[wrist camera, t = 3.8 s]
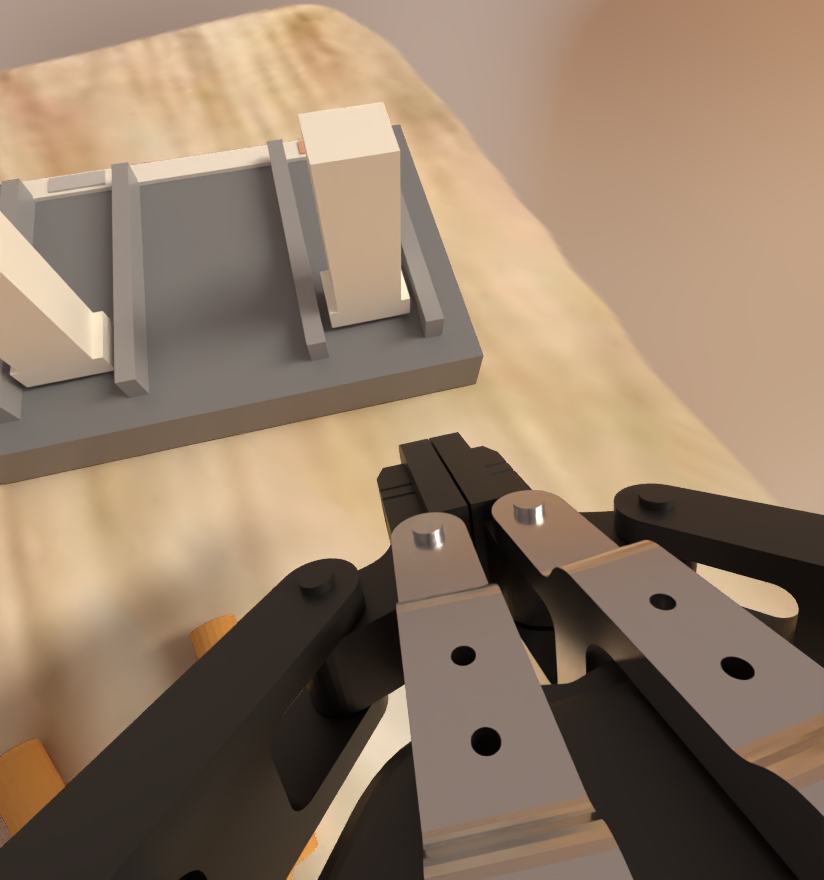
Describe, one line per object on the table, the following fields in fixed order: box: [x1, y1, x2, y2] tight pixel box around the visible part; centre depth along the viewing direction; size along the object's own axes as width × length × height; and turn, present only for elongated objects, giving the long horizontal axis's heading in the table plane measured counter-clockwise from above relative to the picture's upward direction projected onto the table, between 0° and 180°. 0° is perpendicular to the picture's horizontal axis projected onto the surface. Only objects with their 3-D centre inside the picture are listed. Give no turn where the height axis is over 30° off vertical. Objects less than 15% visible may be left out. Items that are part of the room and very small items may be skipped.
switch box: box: [0, 125, 483, 484], centre depth 25 cm, size 22×16×4 cm
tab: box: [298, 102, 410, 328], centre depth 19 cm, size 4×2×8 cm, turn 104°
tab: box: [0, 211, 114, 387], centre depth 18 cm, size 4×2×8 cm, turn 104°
